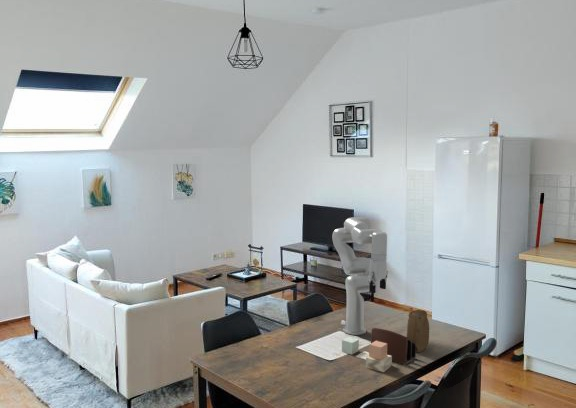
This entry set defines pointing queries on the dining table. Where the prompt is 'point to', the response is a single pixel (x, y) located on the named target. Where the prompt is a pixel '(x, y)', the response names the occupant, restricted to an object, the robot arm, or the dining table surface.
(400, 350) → the letter holder
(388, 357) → the birch block
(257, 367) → the dining table surface
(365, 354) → the card
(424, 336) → the block
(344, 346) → the sage cube
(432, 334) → the dining table surface
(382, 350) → the terracotta cube
